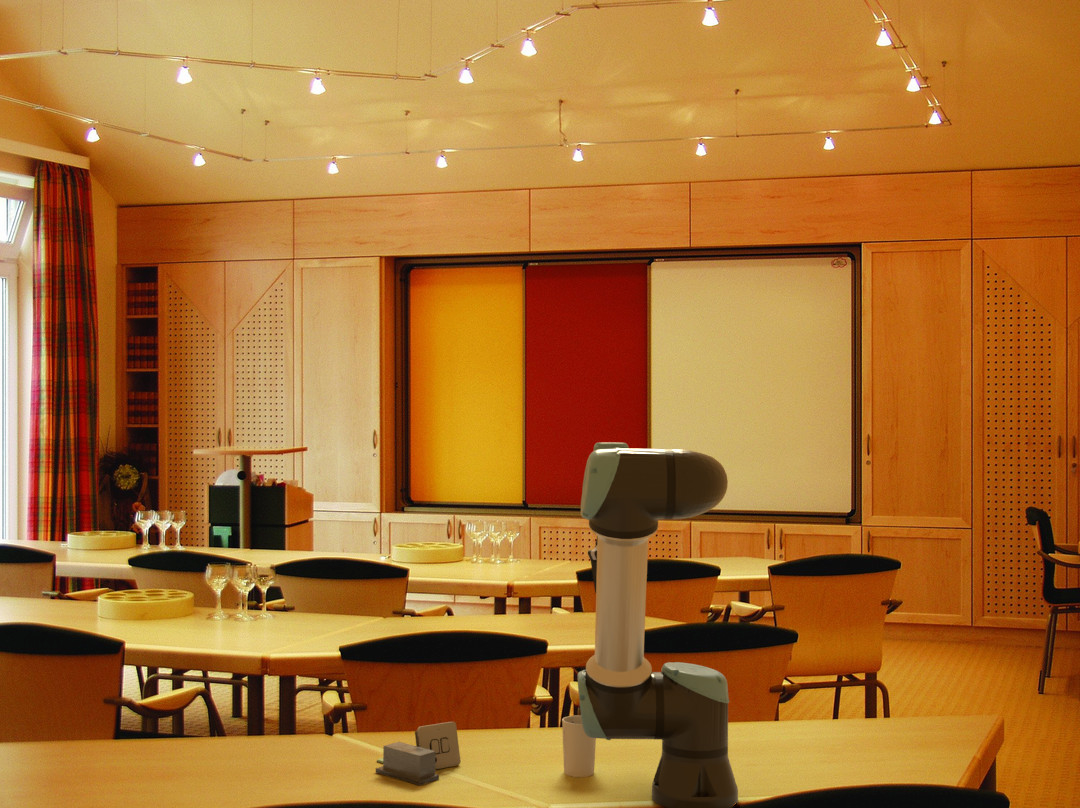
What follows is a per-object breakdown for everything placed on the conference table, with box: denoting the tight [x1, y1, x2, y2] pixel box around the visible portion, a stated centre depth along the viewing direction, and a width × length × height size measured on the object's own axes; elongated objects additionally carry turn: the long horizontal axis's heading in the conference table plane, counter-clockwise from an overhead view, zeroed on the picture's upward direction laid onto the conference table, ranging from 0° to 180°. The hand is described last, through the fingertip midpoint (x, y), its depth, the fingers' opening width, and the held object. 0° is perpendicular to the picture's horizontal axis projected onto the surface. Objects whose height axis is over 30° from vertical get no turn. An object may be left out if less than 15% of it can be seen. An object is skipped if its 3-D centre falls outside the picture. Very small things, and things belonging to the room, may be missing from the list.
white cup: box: [561, 715, 597, 778], centre depth 207 cm, size 7×7×10 cm
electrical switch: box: [414, 721, 462, 770], centre depth 211 cm, size 8×5×8 cm, turn 124°
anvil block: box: [375, 741, 440, 786], centre depth 204 cm, size 12×5×5 cm, turn 50°
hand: (609, 628), depth 227 cm, fingers closed
